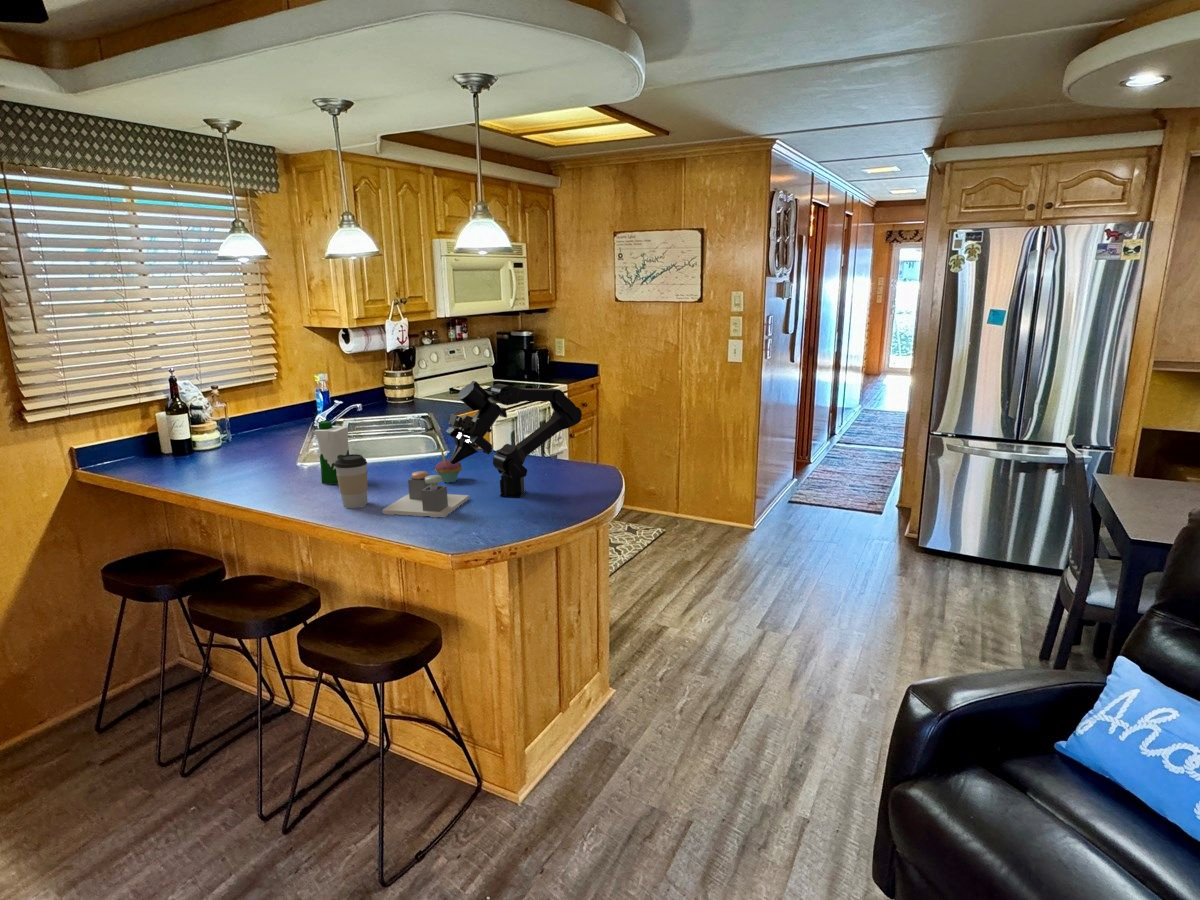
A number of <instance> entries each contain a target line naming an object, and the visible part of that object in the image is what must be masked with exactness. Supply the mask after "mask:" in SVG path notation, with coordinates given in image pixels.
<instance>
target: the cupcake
mask: <svg viewBox="0 0 1200 900" xmlns="http://www.w3.org/2000/svg"><path fill="white" fill-rule="evenodd" d="M439 446H440V452H441V456H442V460H440V461H439V462H437V464H436V465H435V466H434V469H435V472H436V473H437V475H440V476H442V481H441V483H443V482H446V483H445V484H450V483H449V482H452V483H456V482H457V481H458V476H459V473H460V472H461V471H462V470H463V466H462V463H461V462H460V461H459V462H457V463H455V464H451V463H450V460H451V459H446V458H445V457H446V456H445V454H444V450H443V447H442V446H441V445H439ZM456 480H457V481H456Z"/></svg>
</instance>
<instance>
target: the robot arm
mask: <svg viewBox="0 0 1200 900" xmlns="http://www.w3.org/2000/svg"><path fill="white" fill-rule="evenodd" d="M457 397H458V399H459V400H460V401H461V402H462V403H463V404H465V405H466V406H467V407H468V408H469V409H470V410H471V411H477V412H476V413H475V414H474V416H472V415H467V414H464V415H462V416H459V415H456V414H453V413H451V414H450V418H449V421H448V423H447V424H448V425H449V427H448V428H447V429H446V431H445V433H446V434H448V436H450V437H451V438H452V439H454V444H455V445H454V449H453V451H452V454H451V457H450V459H449V460H450V463H451V464H455V463H457V462H459V463H460V462H461V461H463V460H464V459H466V458H468V457H470V456H472V455H474V454H477V453H479V451H478V449H479V448H480V449H481V450H482V452H483V454H486V455H488V456H489V455H490V454H491V452H492V451H493V450H494V449H493V444H492V443H490V442H489V441H488V440H487V439H486V438H485V436H486V434H487V433H492V431H493V429H491V427H492V426H493V425H494V423H495V422H496V421H497V419H498V418H499V417H502V418H508V415H507V408H506V407H503V406H512V405H516V404H517V405H518V404H519V403H522V402H550V403H549V404H550V407H551V409H552V410H553V412H552V414H551V415H550V418H549V420H546V422H545V423H543V424H542V425H541V426H539V427H537V429H535V430H534V431H533V432H531V433H529V435H527V436H526V437H525V438H524V439H522V440H521V441H519V442H518V443H516V444H515V445H512V444H510V443H505V444H504V445H503V446H502V447H501V448H499V449H497V450H496V452H495V454H493V459H492V464H493V466H494V468H495V469H496V470H497V472H498V474H501V475H500V480H499V489H500V490H499V491H500V494H499V496H500V497H502V496H508V497H507V498H521V497H522V496H523V495H524V494H525V493H526V492H527V489H525V477H527V475H528V469H527V468H526V467H525V466H524V463H525V460H526V459H527V457H528V456H530V454H531V453H533V452H534V451H536V450H537V449H538V448H539V447H541V446H542V445H543V444H545V443H547V441H548V440H550V439H551V438H553V437H554V436H555V435H556V434H558V433H559V432H560V431H563V430H566V429H569V428H570V429H571V428H572V427H574V426H576V425H578V424H579V423H580V422H581V421H582V410H581V408H580V407H578V406H576V405H575V403H574V402H573V401H572V400H571V399H570V398H569V397H568V396H566V394H565V393H564V392H563V390H561V389H558V388H553V387H550V388H533V387H532V388H523V387H521V388H520V387H517V386H516V387H515V386H512V385H508V384H502V383H495V384H494V385H493V386H492V387H491V388H487V389H486V390H485V389H484V387H482V386H481V385H480V383H479V382H477V381H476V380H471V382H470V383H468V384H466V385H465V386H464V387H462V388H461V389H460V391H459V392H458V395H457ZM491 400H492V401H493V402H491ZM498 404H499V405H500V404H501V405H503V406H502V407H501V406H499V405H498ZM524 490H525V491H526V492H525V491H524ZM524 492H525V493H524ZM523 493H524V494H523ZM522 494H523V495H522ZM521 495H522V496H521ZM509 496H511V497H509ZM520 496H521V497H520Z"/></svg>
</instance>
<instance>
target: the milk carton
mask: <svg viewBox="0 0 1200 900" xmlns="http://www.w3.org/2000/svg"><path fill="white" fill-rule="evenodd" d="M317 424H318V428H316V429H314V430H313V432H314V435H315V438H316V441H317V447H318V454H319V463H320V464H319V465H320V475H321V477H320V478H321V484H322V483H331V484H330V485H339V484H338V479H337V471H336V467H335V462H336V461H337V460H338V458H339V457H340V456H344V455H350V446H349V426H345V425H344V426H342V425H333V424H332V421H330V420H322V421H321V420H320V421H319V422H318V423H317Z"/></svg>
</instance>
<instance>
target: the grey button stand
mask: <svg viewBox="0 0 1200 900" xmlns="http://www.w3.org/2000/svg"><path fill="white" fill-rule="evenodd" d="M407 484H408V486H407V487H408V494H405V495H404V496H403V497H401V498H399V499H397V500H396V501H394V502H393V503H391V504H390V505H388V506H386V507H384V508H383V509H382V514H383V513H384V514H383V515H394V514H397V515H396V516H408V515H413V516H414V517H423V516H430V517H429V518H437V517H445V516H446V517H447V515H448V514H449V513H450V514H451V512H452V511H453V510H454V511H456V510H457V509H458V508H459V506H460V505H461V504H462V505H464V504H465V503H466V502H468V501H469V500H470V495H467V494H452V493H451V494H450V493H448V488H447V487H448V486H447V485H438V484H437V486H438V491H435V490H430V484H428V483H425V479H424V480H417V479H413V478H412V477H410V478H408V479H407ZM468 499H469V500H468ZM467 500H468V501H467ZM465 501H466V502H465ZM464 502H465V503H464ZM463 503H464V504H463ZM462 505H461V506H462ZM457 507H458V508H457ZM456 508H457V509H456ZM455 509H456V510H455ZM454 511H453V512H454ZM453 512H452V513H453ZM450 514H449V515H450ZM449 515H448V516H449ZM413 516H412V517H413ZM446 517H445V518H446Z"/></svg>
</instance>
